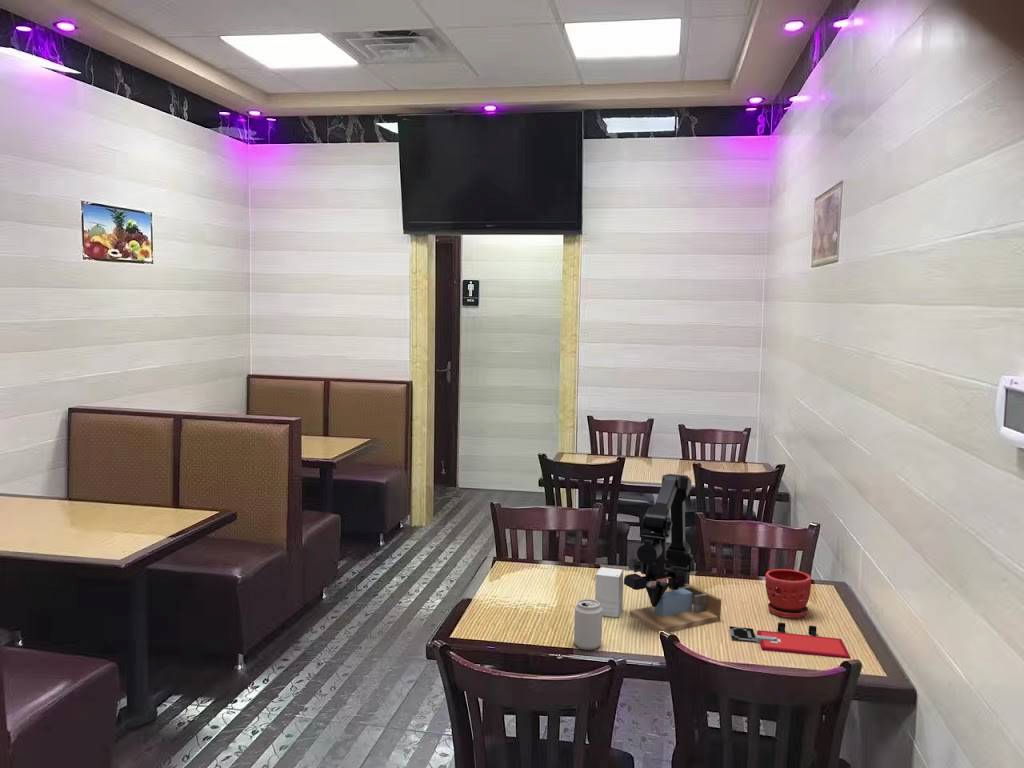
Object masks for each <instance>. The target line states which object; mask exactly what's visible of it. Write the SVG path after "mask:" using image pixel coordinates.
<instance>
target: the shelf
mask: <svg viewBox="0 0 1024 768" xmlns="http://www.w3.org/2000/svg"><path fill="white" fill-rule="evenodd" d="M678 589H686V590H688V591H690V592H692V611H687V612H682V613H678V614H673V615H668V616H661V615H659V614H657V613H655V612H654V607H653V606H652V605H651V606H646V607H641V608H636V609H631V610H629V615H630V616H629V617H631V618H633V619H634V618H635V619H634V620H636V619H637V620H636V621H638V620H639V621H638V622H640V623H641V622H642V623H641V624H643V623H644V624H643V625H645V624H646V625H645V626H647V627H648V626H649V627H648V628H650V627H651V628H650V629H652V628H653V629H652V630H653V631H655V630H656V631H655V632H657V633H659V631H668V633H671V632H672V633H673V632H676V631H681V630H685V629H690V628H694V627H699V626H703V625H707V624H712V623H716V621H717V622H720V621H721V617H722V616H721V615H722V614H721V612H722V611H721V609H722V599H721V598H719V597H716V596H715V595H713V594H710V593H709V592H706V591H704V590H702V589H700V588H697V587H696V586H693V585H691V584H690V583H689V584H684V587H680V588H678Z"/></svg>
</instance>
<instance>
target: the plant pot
mask: <svg viewBox="0 0 1024 768" xmlns="http://www.w3.org/2000/svg"><path fill="white" fill-rule="evenodd" d="M789 579H791V580H789ZM811 588H812V578H811V575H810V574H808V573H807V572H806V573H805V572H802V571H800V570H795V569H787V568H786V569H785V568H784V569H783V568H777V569H771V570H768V571H767V572H766V573H765V592H766V596H767V598H768V601H769V603H768V604H767V607H768V610H769V611H770V612H771V613H773V614H774V615H776V616H778V617H779V616H780V617H783V618H788V619H798V618H802V617H805V616H806V615H807V614H808V613H809V607H808V606H807V605H808V602H809V600H810V596H811Z"/></svg>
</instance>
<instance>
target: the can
mask: <svg viewBox="0 0 1024 768" xmlns="http://www.w3.org/2000/svg"><path fill="white" fill-rule="evenodd" d="M573 624H574V625H573V626H574V627H573V630H574V631H573V643H574V645H576V646H577V648H579V649H582V650H588V651H592V649H593V650H596V649H598V648H599V647H600V646H601V645H602V638H603V636H602V634H603V616H602V607H601V606H600V603H599V602H598V601H596V600H595V599H591V598H583V599H580V600H577V602H576V605H575V606H574V623H573Z"/></svg>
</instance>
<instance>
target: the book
mask: <svg viewBox="0 0 1024 768" xmlns="http://www.w3.org/2000/svg"><path fill="white" fill-rule="evenodd" d="M687 611H692V592H690V591H688V590H686V589H678V590H675V589H673V590H669V591H665V592H664V594H663V595H662V597H661V599H660V600H659V602H658V604H657V606H656V607H654V612H655V613H657V614H659V615H661V616H668V615H673V614H678V613H682V612H687Z"/></svg>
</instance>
